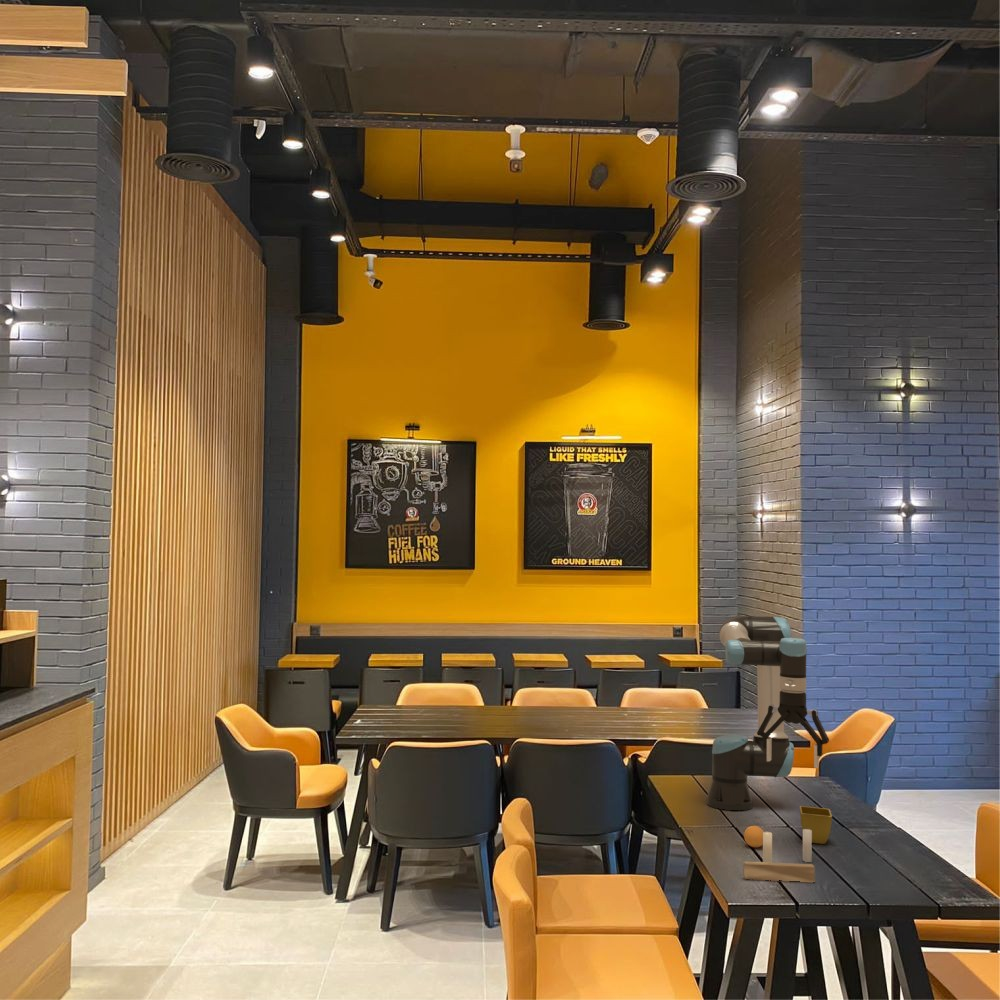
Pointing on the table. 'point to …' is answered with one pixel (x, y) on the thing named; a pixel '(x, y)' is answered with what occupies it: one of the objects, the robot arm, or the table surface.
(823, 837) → the flower pot
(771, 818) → the table surface
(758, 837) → the ball
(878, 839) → the table surface
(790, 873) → the back wall
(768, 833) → the cream pin
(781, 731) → the robot arm
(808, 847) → the beige tapered peg
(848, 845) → the table surface
